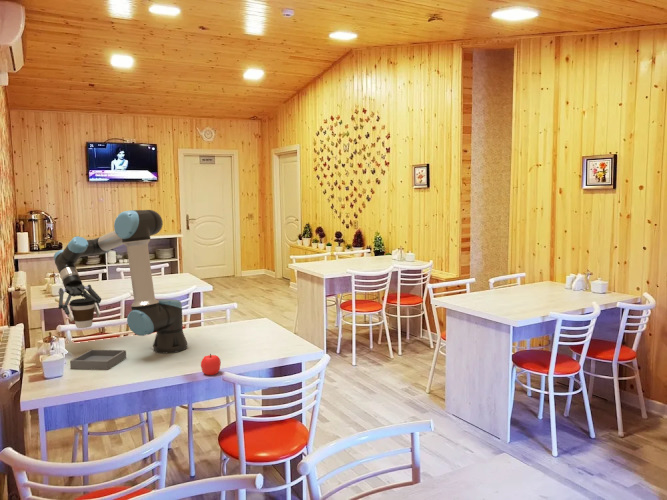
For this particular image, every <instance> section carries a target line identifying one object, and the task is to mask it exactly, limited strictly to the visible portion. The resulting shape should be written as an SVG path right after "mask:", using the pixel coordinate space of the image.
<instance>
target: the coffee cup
mask: <svg viewBox="0 0 667 500" xmlns="http://www.w3.org/2000/svg"><path fill="white" fill-rule="evenodd" d="M95 303H96V301H95V300H94V299H92V298H85V297H82V298H76V299H72V300H70V301H69V303H68V306H70V309H71V312H72V314H73V317H74V318H73V321H74V325H75V327H76V328H77V329H85V328H86V329H87V328H90V327H92V325H93V322H94V321H93V320H94V314H95V310H94V304H95Z"/></svg>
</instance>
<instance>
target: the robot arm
mask: <svg viewBox="0 0 667 500" xmlns="http://www.w3.org/2000/svg"><path fill="white" fill-rule="evenodd" d="M163 224H164V221H163V218H162V216H161V215H160V214H159V213H158V212H157V211H155V210H153V209H152V210H151V209H139V210H137V209H135V210H133V209H132V210H131V209H129V210H124V211H122V212H120V213H119V214H118V215H117V217H116V218H115V220H114V225H113V228H114V230H113V231H110V232H108V233H105V234H104V235H101V236H98V237H96V238H94V239H93V238H92V239H86V238H85V237H83V236H74V237H73V238H72V239H71V240H70V241H69V242H68V243H67V245H66V246H65V248H63V249H60V250H58V251H57V252H54V254H53V261H54V265H55V267H56V268H57V272H58V274H59V276H60V279H61V281H62V284H63V287H64V288H61V287H60V288H59V289H58V295H59V297H58V298H59V299H58V309H59V310H63V311H64V314H65V315H67V316H68V318H69V320H70V322H73V321H74V317H73V314H72V310H71V309H72V308H71V306H70V305H69V303H70V301H71V298H72V297H73V298H74V297H82V298H92V299H94V300H95V301H96V303H95V304H94V313H95V314H96V317H97V318H99V317H100V316H101V311H100V309H101V306H100V303H101V302H102V298H101V296H100V295H99V294H98V293H97V292H96V291H95V290H94V289H93V288H92V285H91V284H88V285H86V286H85V285H84V284H83V282H82V279H81V277H80V274H79V272H78V270H77V267H76V263H77V262H78V261H79V260H80V258H81V257H89V256H96V255H104V254H108V253H109V252H110V250H112V249H115V248H118V247H121V246H123V245H124V246H126V251H127V258H128V264H129V273H130V280H131V286H132V295H133V300H134V301H133V302H132V304H131V305H130V307H131V310H130V312H129V313H128V315H127V316H126V322H127V326H128V328H129V330H130V331H131V332H133V334H135V335H137V336H142V337H143V336H147V335H149V336H150V335H151V334H154V333H156V334H155V338H154V341H153V345H152V347H153V352H155V353H158V354H172V353H179V352H183V351H185V350H186V349H188V341H187V339H186V336H185V334H184V331H183V330H184V326H183V325H184V324H183V307H182V302H181V300H178V299H166V298H164V299H163V298H161V299H157V298H156V296H155V291H154V290H155V288H154V282H153V281H154V280H153V275H152V267H151V266H152V265H151V261H150V253H149V245H148V244H149V243H150V241H151V239H152V238H151V236H155V235H157V234H158V233H160V232H161V230H162V228H163ZM65 293H66V294H68V295H67V297H66V300H65V302H64V294H65ZM63 302H64V304H63Z"/></svg>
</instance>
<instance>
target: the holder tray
mask: <svg viewBox="0 0 667 500" xmlns="http://www.w3.org/2000/svg"><path fill="white" fill-rule="evenodd" d="M125 359H127V351H126V350H125V349H90V350H88V351H86V352H84V353H82V354H79V355H78V356H77V357H74V358H73V359H71V360H69V365H70V366H69V368H70V370H92V371H93V370H96V371H97V370H98V371H99V370H101V371H102V370H103V371H108V370H110V369H111V368H113V367H115V366H116V365H118V364H119V363H122V361H124V360H125Z"/></svg>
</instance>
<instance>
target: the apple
mask: <svg viewBox="0 0 667 500" xmlns="http://www.w3.org/2000/svg"><path fill="white" fill-rule="evenodd" d="M200 367H201V372H202V373H203V374H204V375H207V376H213V375H217V374H218V373H219V372H220V369H221V359H220V357H219V356H218V355H215V354H212V353H210V354H209V355H204V356H203V358H202V360H201V362H200Z"/></svg>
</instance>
